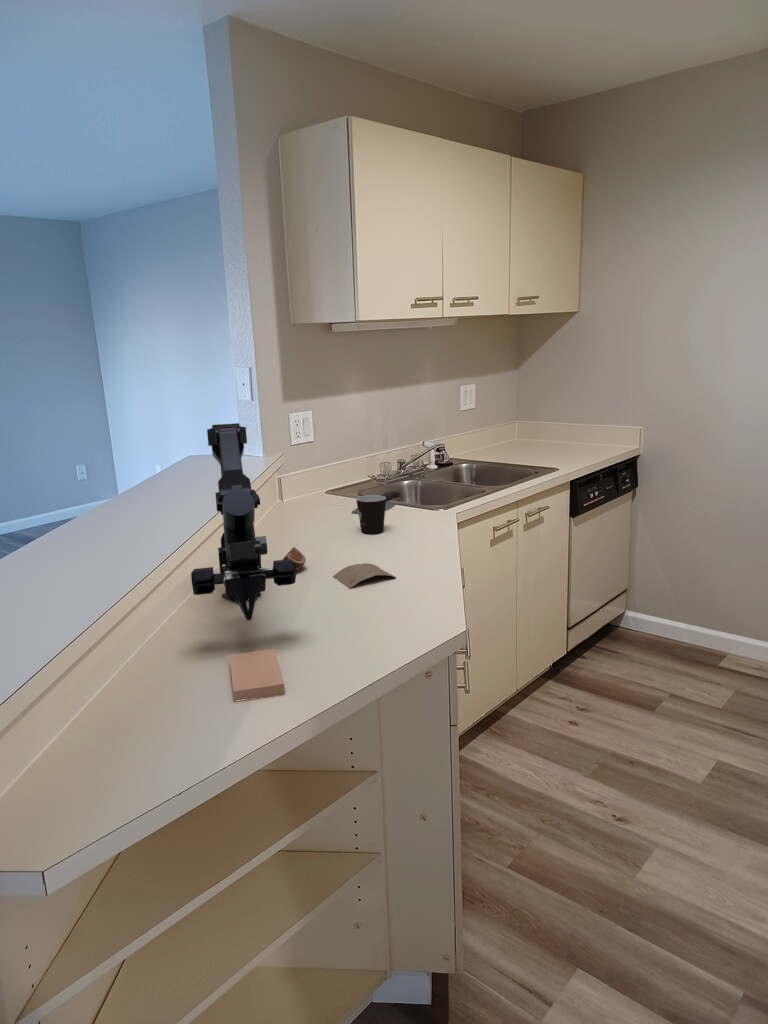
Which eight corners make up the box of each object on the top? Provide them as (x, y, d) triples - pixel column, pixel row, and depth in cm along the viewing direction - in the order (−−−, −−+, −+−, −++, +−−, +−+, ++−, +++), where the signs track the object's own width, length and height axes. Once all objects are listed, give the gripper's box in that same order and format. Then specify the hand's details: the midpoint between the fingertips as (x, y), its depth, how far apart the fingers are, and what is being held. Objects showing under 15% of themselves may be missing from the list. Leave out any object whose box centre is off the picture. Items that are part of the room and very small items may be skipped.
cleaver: (386, 495, 259) (386, 490, 258) (411, 497, 255) (411, 491, 254) (349, 516, 233) (348, 509, 233) (376, 518, 229) (376, 511, 229)
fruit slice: (283, 564, 183) (282, 545, 182) (309, 565, 182) (308, 546, 181) (274, 575, 175) (272, 555, 174) (301, 575, 174) (300, 556, 173)
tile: (229, 655, 127) (233, 691, 114) (274, 648, 129) (284, 683, 116) (230, 667, 128) (234, 704, 115) (275, 660, 130) (285, 696, 116)
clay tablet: (380, 569, 179) (379, 558, 178) (401, 579, 170) (401, 568, 170) (327, 580, 172) (327, 569, 171) (347, 592, 163) (347, 581, 163)
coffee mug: (384, 536, 206) (383, 501, 204) (355, 535, 207) (353, 501, 205) (390, 525, 217) (389, 493, 215) (362, 525, 219) (361, 492, 216)
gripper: (186, 526, 128) (192, 607, 120) (291, 517, 132) (303, 594, 125) (191, 555, 137) (196, 632, 130) (289, 546, 141) (300, 619, 134)
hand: (249, 619), depth 129 cm, fingers closed
